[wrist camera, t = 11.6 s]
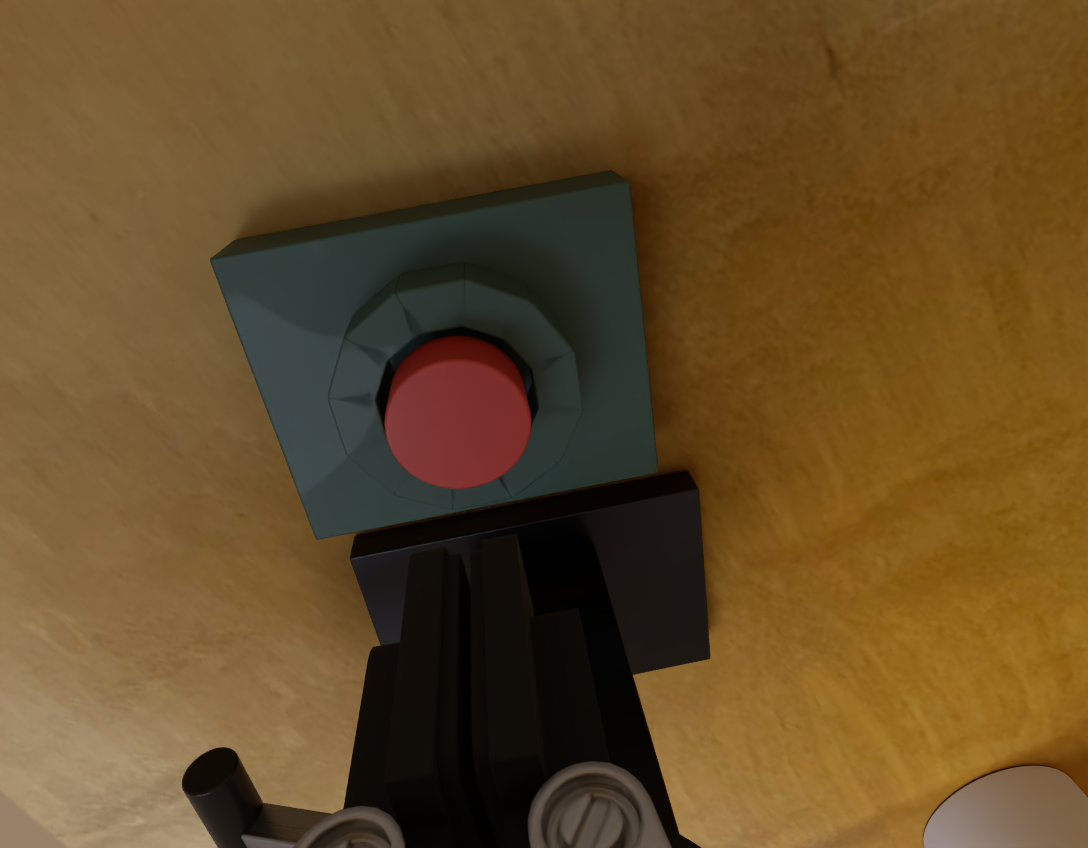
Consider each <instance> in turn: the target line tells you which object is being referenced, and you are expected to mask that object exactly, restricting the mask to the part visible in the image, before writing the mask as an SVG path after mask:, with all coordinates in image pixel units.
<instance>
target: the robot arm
mask: <svg viewBox="0 0 1088 848" xmlns="http://www.w3.org/2000/svg"><path fill="white" fill-rule="evenodd" d="M293 848H701V847H700V846H698V845H696V844H695V843H693V842H691V841H690V840H688V839H687V838H685V837H683V836H682V835H680V834H679V833H677V832H675V831H674V830H672V829H670V828H669V827H667V826H666V825H664V824H662V823H661V821H660V819H659V817H658V814H657V812H656V810H655V807H654V805H653V803H652V800H651V798H650V796H649V794H648V793H647V791H646V790H645V788H644V787H643V785H642V783H641V782H640V781H639V780H638V779H637V778H635V777H634V776H633V775H632V774H631V773H629V772H628V771H627V770H625V769H623V768H621V767H618V766H616V765H613V764H611V763H610V758H609V754H608V749H607V744H606V739H605V734H604V729H603V725H602V720H601V715H600V710H599V705H598V700H597V695H596V691H595V686H594V681H593V676H592V671H591V666H590V662H589V657H588V652H587V647H586V642H585V637H584V632H583V628H582V623H581V618H580V613H579V609H578V608H575V609H570V610H565V611H559V612H554V613H549V614H544V615H538V616H534V611H533V607H532V602H531V597H530V593H529V588H528V584H527V579H526V574H525V570H524V565H523V561H522V556H521V552H520V547H519V542H518V538H517V535H516V534H511V535H506V536H500V537H495V538H490V539H484V540H482V549H481V550H476V551H471V552H470V584H469V580H468V577H467V573H466V569H465V565H464V562H463V558H462V556H461V554H455V555H449V552H448V550H447V548H446V547H442V548H437V549H432V550H426V551H421V552H416V553H412V554H411V555H410V559H409V567H408V576H407V584H406V593H405V602H404V610H403V619H402V628H401V636H400V642H397V643H392V644H387V645H382V646H376V647H373V648H372V650H371V651H370V654H369V658H368V663H367V669H366V675H365V681H364V688H363V694H362V700H361V706H360V712H359V718H358V724H357V730H356V736H355V742H354V748H353V754H352V760H351V766H350V772H349V779H348V785H347V791H346V797H345V803H344V809H342V810H339V811H337V812H335V813H333V814H331V815H329V816H327V817H325V818H323V819H322V820H320V821H319V822H318V823H317V824H315V825H314V826H313V827H311V828H310V829H309V830H308V831H306V832H305V833H304V835H303V836H302V837H301V838H300V839H299V841H298V842H297V843H296V844H295V846H294V847H293Z"/></svg>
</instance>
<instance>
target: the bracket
mask: <svg viewBox="0 0 1088 848" xmlns="http://www.w3.org/2000/svg"><path fill="white" fill-rule="evenodd" d="M511 534H516V535H517V538H518V542H519V547H520V552H521V556H522V561H523V565H524V570H525V574H526V579H527V584H528V588H529V593H530V597H531V602H532V607H533V611H534V616H538V615H544V614H549V613H554V612H559V611H565V610H570V609H575V608H578V609H579V613H580V618H581V623H582V628H583V632H584V637H585V642H586V647H587V652H588V657H589V662H590V666H591V671H592V676H593V681H594V686H595V691H596V695H597V700H598V705H599V710H600V715H601V720H602V725H603V729H604V734H605V739H606V744H607V749H608V754H609V758H610V763H611V764H613V765H616V766H618V767H621V768H623V769H625V770H627V771H628V772H629V773H631V774H632V775H633V776H634V777H635V778H637V779H638V780H639V781H640V782H641V783H642V785H643V787H644V788H645V790H646V791H647V793H648V794H649V796H650V798H651V800H652V803H653V805H654V807H655V810H656V812H657V814H658V817H659V819H660V821H661V823H662V824H664V825H666V826H667V827H669V828H670V829H672V830H674V831H675V832H677V833H679V831H678V827H677V824H676V820H675V817H674V814H673V810H672V807H671V803H670V800H669V797H668V793H667V790H666V786H665V783H664V780H663V776H662V773H661V769H660V766H659V763H658V759H657V756H656V752H655V749H654V746H653V742H652V739H651V735H650V732H649V729H648V725H647V722H646V718H645V715H644V712H643V708H642V705H641V701H640V698H639V695H638V691H637V688H636V684H635V681H634V678H633V675H634V674H639V673H644V672H649V671H654V670H658V669H663V668H668V667H673V666H678V665H683V664H688V663H692V662H697V661H702V660H707V659H710V644H709V630H708V615H707V600H706V586H705V571H704V557H703V542H702V528H701V513H700V499H699V489H698V487H697V485H696V484H695V482H694V480H693V478H692V477H691V475H690V473H689V472H688V471H682V472H677V473H672V474H667V475H662V476H657V477H652V478H647V479H642V480H637V481H631V482H626V483H621V484H616V485H611V486H606V487H601V488H596V489H591V490H586V491H581V492H576V493H571V494H566V495H561V496H556V497H551V498H546V499H540V500H535V501H530V502H525V503H520V504H515V505H510V506H505V507H500V508H495V509H490V510H485V511H480V512H475V513H470V514H465V515H460V516H455V517H450V518H444V519H439V520H434V521H429V522H424V523H419V524H414V525H409V526H404V527H399V528H394V529H389V530H384V531H379V532H374V533H369V534H364V535H359V536H355V537H354V541H353V546H352V550H351V555H350V561H351V564H352V566H353V569H354V572H355V575H356V577H357V580H358V583H359V586H360V589H361V591H362V594H363V597H364V600H365V603H366V605H367V608H368V611H369V614H370V616H371V619H372V622H373V625H374V628H375V630H376V633H377V636H378V639H379V642H380V644H381V646H382V645H387V644H392V643H397V642H400V636H401V628H402V619H403V610H404V602H405V593H406V584H407V576H408V567H409V559H410V555H411V554H412V553H416V552H421V551H426V550H432V549H437V548H442V547H446V548H447V550H448V552H449V555H455V554H461V556H462V558H463V562H464V565H465V569H466V573H467V577H468V580H469V584H470V552H471V551H476V550H481V549H482V540H484V539H490V538H495V537H500V536H506V535H511Z"/></svg>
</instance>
